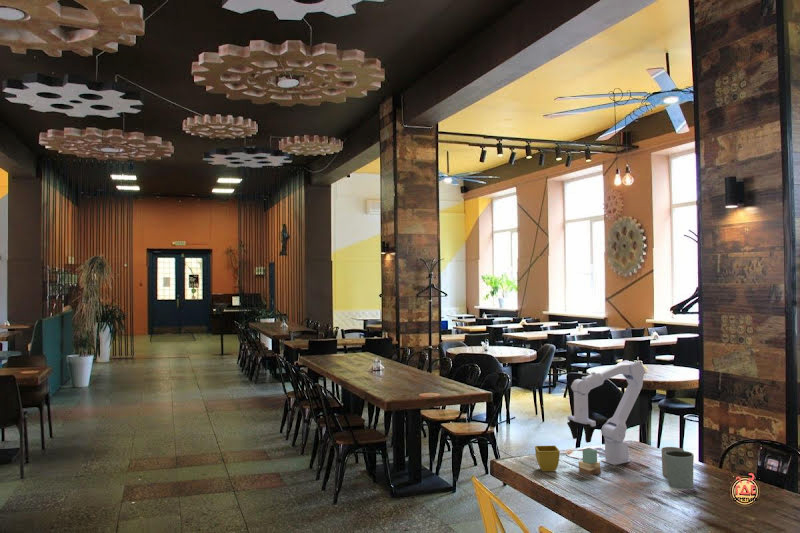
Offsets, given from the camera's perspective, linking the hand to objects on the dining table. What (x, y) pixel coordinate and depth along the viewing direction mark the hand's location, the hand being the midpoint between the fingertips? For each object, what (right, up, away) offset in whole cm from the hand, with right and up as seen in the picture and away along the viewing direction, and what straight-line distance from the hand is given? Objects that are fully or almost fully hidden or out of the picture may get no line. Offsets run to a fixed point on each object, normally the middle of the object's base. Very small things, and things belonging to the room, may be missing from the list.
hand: (581, 440), depth 279 cm
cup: (+32, -9, -17) cm, 37 cm away
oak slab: (0, -8, -10) cm, 13 cm away
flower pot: (-16, -11, -6) cm, 20 cm away
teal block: (+1, -6, -10) cm, 12 cm away
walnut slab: (0, -11, -10) cm, 15 cm away
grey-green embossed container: (+29, -9, -30) cm, 43 cm away
